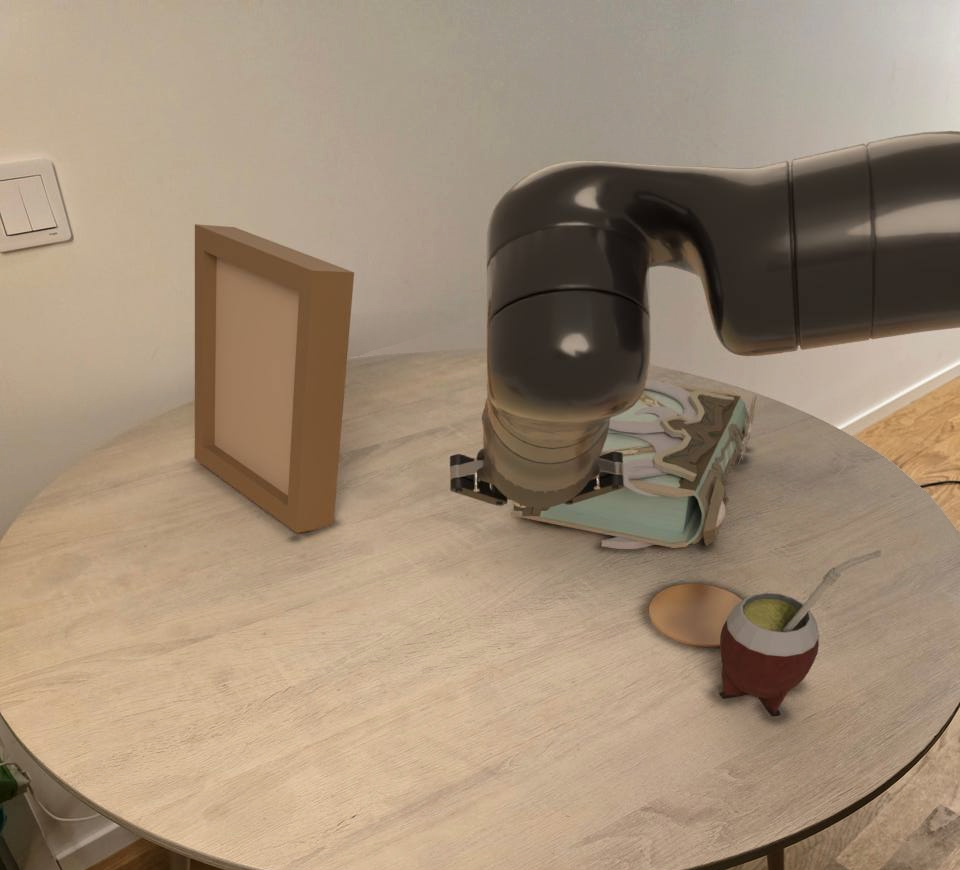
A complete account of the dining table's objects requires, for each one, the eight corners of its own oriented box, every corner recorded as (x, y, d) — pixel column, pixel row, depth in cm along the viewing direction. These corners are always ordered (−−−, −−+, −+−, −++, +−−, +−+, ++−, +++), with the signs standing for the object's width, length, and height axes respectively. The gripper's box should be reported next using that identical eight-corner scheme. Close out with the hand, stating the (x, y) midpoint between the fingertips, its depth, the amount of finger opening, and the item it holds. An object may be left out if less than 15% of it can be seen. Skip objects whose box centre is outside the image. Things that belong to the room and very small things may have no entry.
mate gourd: (697, 672, 73) (725, 512, 63) (785, 656, 74) (826, 497, 65) (738, 734, 67) (775, 569, 58) (833, 717, 68) (885, 552, 59)
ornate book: (707, 583, 84) (761, 440, 105) (722, 495, 78) (776, 361, 99) (486, 537, 91) (578, 411, 112) (483, 453, 85) (581, 336, 106)
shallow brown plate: (739, 588, 82) (740, 582, 82) (764, 649, 75) (765, 644, 75) (641, 589, 82) (641, 584, 82) (657, 651, 75) (657, 646, 75)
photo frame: (297, 541, 90) (254, 284, 74) (196, 466, 103) (141, 234, 87) (414, 492, 97) (397, 249, 81) (306, 428, 110) (274, 208, 94)
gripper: (437, 492, 55) (449, 551, 72) (653, 488, 54) (614, 548, 72) (436, 374, 55) (448, 460, 73) (649, 370, 55) (611, 457, 73)
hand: (530, 504), depth 72 cm, fingers closed
